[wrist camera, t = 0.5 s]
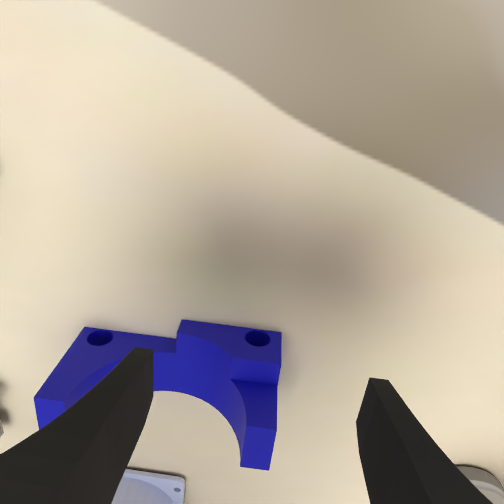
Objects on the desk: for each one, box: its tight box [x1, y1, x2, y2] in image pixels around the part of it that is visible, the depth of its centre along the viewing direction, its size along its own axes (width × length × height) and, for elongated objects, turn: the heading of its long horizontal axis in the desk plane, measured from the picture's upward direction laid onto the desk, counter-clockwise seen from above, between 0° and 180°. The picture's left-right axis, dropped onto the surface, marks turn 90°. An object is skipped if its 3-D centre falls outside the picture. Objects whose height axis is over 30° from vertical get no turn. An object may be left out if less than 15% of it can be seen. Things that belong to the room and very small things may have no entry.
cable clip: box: [34, 320, 281, 470], centre depth 23 cm, size 12×4×6 cm, turn 84°
